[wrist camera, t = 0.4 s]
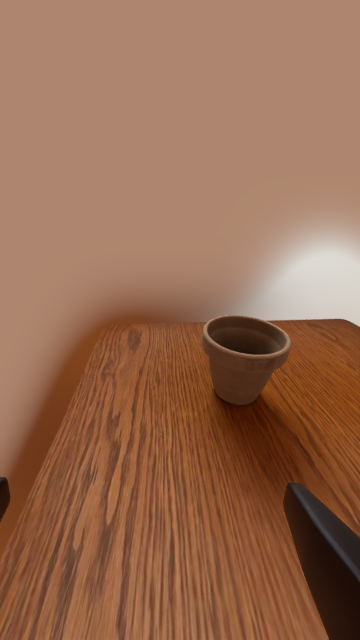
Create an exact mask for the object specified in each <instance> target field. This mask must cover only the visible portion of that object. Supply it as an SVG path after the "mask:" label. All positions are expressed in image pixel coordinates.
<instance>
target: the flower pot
mask: <svg viewBox="0 0 360 640" xmlns="http://www.w3.org/2000/svg"><path fill="white" fill-rule="evenodd" d="M202 346H203V349H204V351H205V353H206V354H207V355H208V356H209V363H210V370H211V376H212V382H213V386H214V390H215V392H216V393H217V395H218V396H219V397H220V398H222V399H223V400H225V401H226V402H229V403H231V404H236V405H245V404H249V403H251V402H253V401H254V400H255V399H256V398H257V397H258V395H259V394H260V392H261V391H262V389H263V388H264V386H265V385H266V383H267V381H268V380H269V378H270V376H271V375H272V373H273V371H274V370H276V369H278V368H280V367H281V366H282V365H283V364H284V363H285V362H286V359H287V357H288V354H289V351H290V348H291V340H290V337H289V336H288V335H287V334H286V332H284V331H283V330H282V329H280V328H279V327H277V326H275V325H273V324H271V323H269V322H267V321H264V320H261V319H257V318H253V317H247V316H237V315H230V316H229V315H228V316H221V317H217V318H214V319H211V320H210V321H208V322H207V323H206V324H205V326H204V328H203V337H202Z"/></svg>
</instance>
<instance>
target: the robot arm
mask: <svg viewBox="0 0 360 640" xmlns="http://www.w3.org/2000/svg"><path fill="white" fill-rule="evenodd" d="M9 502H10V492H9V486H8V481H7V479H6V478H5V477H0V521H1V519H2V517H3V515H4V513H5V511H6V509H7V507H8V505H9ZM283 506H284V511H285V515H286V518H287V521H288V524H289V528H290V531H291V534H292V537H293V541H294V544H295V547H296V551H297V554H298V557H299V560H300V564H301V567H302V570H303V573H304V576H305V578H306V581H307V584H308V586H309V589H310V591H311V594H312V597H313V599H314V602H315V604H316V607H317V609H318V612H319V614H320V617H321V620H322V622H323V625H324V627H325V630H326V632H327V635H328V637H329V640H360V537H359V536H358V535H356V534H355V533H354V532H353V531H352V530H351V529H350V528H349V527H348V526H347V525H346V524H345V523H343V522H342V521H341V520H340V519H339V518H338V517H337V516H336V515H335V514H334V513H333V512H331V511H330V510H329V509H328V508H327V507H326V506H325V505H324V504H323V503H322V502H321V501H320V500H318V499H317V498H316V497H315V496H314V495H313V494H312V493H311V492H310V491H309V490H308V489H306V488H305V487H304V486H303V485H302V484H300V483H288V484H287V486H286V491H285V496H284V501H283Z"/></svg>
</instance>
